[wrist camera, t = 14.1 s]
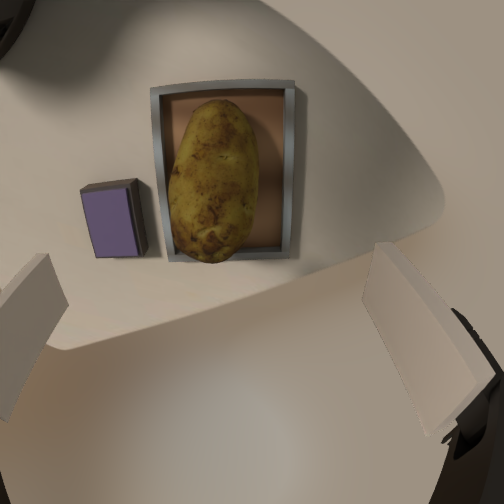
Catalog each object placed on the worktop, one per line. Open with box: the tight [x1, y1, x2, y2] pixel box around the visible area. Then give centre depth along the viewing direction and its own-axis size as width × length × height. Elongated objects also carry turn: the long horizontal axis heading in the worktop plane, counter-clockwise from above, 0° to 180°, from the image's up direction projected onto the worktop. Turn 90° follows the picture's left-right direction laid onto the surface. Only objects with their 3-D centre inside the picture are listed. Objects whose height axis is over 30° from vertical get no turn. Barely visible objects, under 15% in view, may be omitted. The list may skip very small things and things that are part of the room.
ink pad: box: [80, 178, 148, 258], centre depth 26 cm, size 8×6×2 cm
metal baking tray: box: [150, 79, 295, 262], centre depth 25 cm, size 18×13×2 cm
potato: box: [168, 99, 259, 264], centre depth 22 cm, size 8×13×8 cm, turn 156°
